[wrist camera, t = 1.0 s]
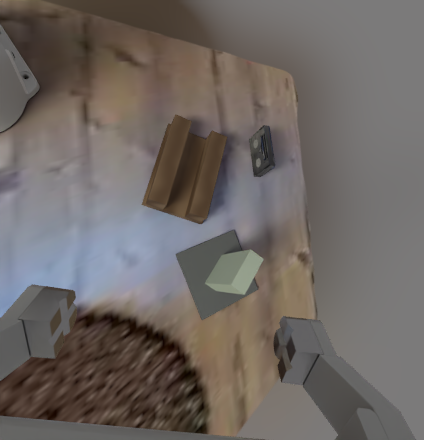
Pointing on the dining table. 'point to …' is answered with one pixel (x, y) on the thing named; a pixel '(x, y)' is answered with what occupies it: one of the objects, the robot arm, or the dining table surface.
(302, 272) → the dining table surface
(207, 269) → the mat
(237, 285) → the tall sage green pillar
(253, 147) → the mini dv tape
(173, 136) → the rack
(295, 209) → the dining table surface
